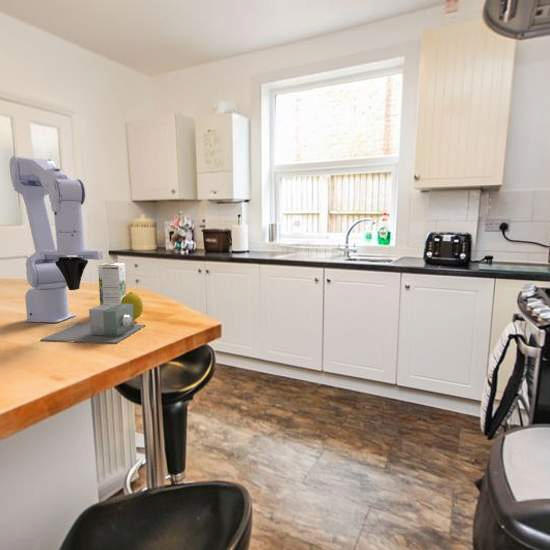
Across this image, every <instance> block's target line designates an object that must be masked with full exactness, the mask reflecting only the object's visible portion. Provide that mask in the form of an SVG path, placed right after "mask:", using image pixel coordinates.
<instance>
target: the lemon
mask: <svg viewBox="0 0 550 550" xmlns="http://www.w3.org/2000/svg"><path fill="white" fill-rule="evenodd" d="M121 304H133V316H134V321H136V319H138V318H140V316H141V315H142V314H143V308H144V304H143V300H142V298H141V297H140V296H139V295H138V294H136V293H134V292H133V291H130V292H129V293H126V295H125V296H124V297H123V298H122V301H121Z"/></svg>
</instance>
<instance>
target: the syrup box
mask: <svg viewBox="0 0 550 550" xmlns="http://www.w3.org/2000/svg"><path fill="white" fill-rule="evenodd" d="M97 267H98V268H97V272H98V288H99V289H98V291H99V292H98V293H99V305H101V304H121V301H122V298H123V297H124V296H125V295H126V294H127V279H126V264H125V263H124V262H105V263H102V264H100V265H98V266H97Z"/></svg>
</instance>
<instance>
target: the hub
mask: <svg viewBox="0 0 550 550" xmlns="http://www.w3.org/2000/svg"><path fill="white" fill-rule="evenodd" d="M117 305H119V304H101V305H100V304H99V305H97V306H94V307H91V308H89V309H88V313H89V315H88V317H89V323H90V331H91V335H105V333H104V318H103V311H105V310H107V309H110V308H112V307H114V306H117Z"/></svg>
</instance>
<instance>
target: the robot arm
mask: <svg viewBox="0 0 550 550" xmlns="http://www.w3.org/2000/svg"><path fill="white" fill-rule="evenodd" d="M9 174H10V180H11V184H12V187H13V189H14V192H16V193H18V194H19V195H21V197H22V199H23V202H24V205H25V210H26V215H27V219H28V223H29V228H30V233H31V238H32V242H33V247H34V250H35V252H33V254H31V255H30V256H29V257H27V259H26V262H25V268H26V271H25V272H26V279H27V283H28V285H29V286H31V287H30V288H28V289H27V291H26V293H25V298H24V299H25V308H26V317H27V318H26V319H25V320H24V322H29V323H60V322H63V321H65V320H68V319H70V318H72V317H76V316H77V313H69V302H68V290H69V291H77V290H80V285H81V281H82V276H83V273H84V271H85V268H86V266H87V265H88V263H89V260H95V261H96V260H97V261H99V260H104V254H103V250H89V249H88V250H87V249H85V236H84V224H83V223H84V221H83V209H82V205H84V203H85V200H86V190H85V189H86V188H85V185H84V182H83V181H82V180H81V179H71V178H70V176H68V175H67V174H66V173H65V172H63V171H62V169H61V168H60V167H57V165H56V163H55V162H54V160H52V159H50V158H49V159H42V158H34V157H23V156H17V155H13V156H12V157H10V160H9ZM47 195H48V198H49V199H48V200H49V202H50V207H51V211H52V212H53V214H54V215H53V216H54V228H55V239H56V240H55V239H54V236H53V231H52V227H51V223H50V219H49V215H48V210H47V205H46V200H45V197H46V196H47ZM55 241H56V245H55Z"/></svg>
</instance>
